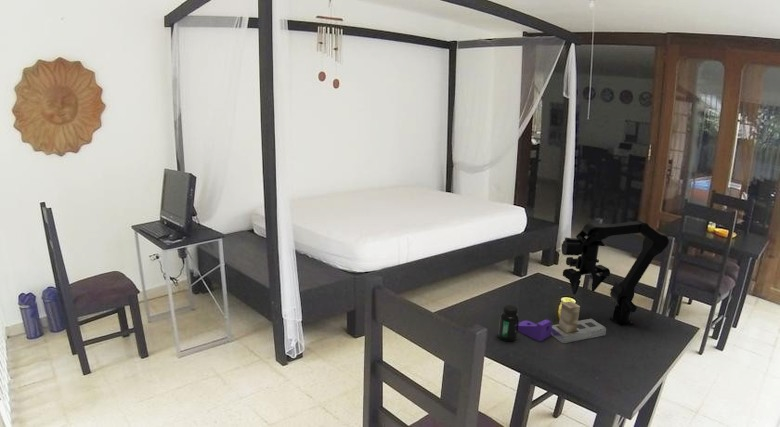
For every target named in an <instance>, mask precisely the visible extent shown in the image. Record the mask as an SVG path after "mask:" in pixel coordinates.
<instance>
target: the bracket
mask: <svg viewBox="0 0 780 427" xmlns="http://www.w3.org/2000/svg"><path fill="white" fill-rule="evenodd" d="M552 325H553V322H552V321H551V320H549V319H544V320H543V319H542V321H539V322H537V323H534V322H532V321H530V320H523V321H519V325H518V332H519V333H521V334H524V335H525V336H527V337H530V338H532V339H533V340H535V341H537V342H541V341H542V342H543V341H544V340H546V339H547V338H549V337H551V336H552V335H551V328H552Z"/></svg>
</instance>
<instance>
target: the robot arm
mask: <svg viewBox="0 0 780 427" xmlns="http://www.w3.org/2000/svg"><path fill="white" fill-rule="evenodd" d="M631 234H633V235H634V234H641V235H642V236H643V237H644V239H643V241H642V249H641V251H640V253H639V254H638V256H637V258H636V259H635V262H634V263H633V264H632V266H631V267H630V269H629V270H628V272H627V274H626V275H625V276H624V278H623V280H622V281H620V282H617V281H615V282H614V284H613V285H612V288H610V292H609V295H610V298H611V300H613V303H614V304H615V306H614V310H613V315H612V316H609V320H611V321H613V322H615V323H616V324H618V325H620V326H627V325H633V324H634V323H635V322H634V321H632V315H633V313H635V312H636V311H637V308H638V307H637V306H636V304H634V303H633V299H634V297H635V289H636V286H637V285H638V284H639V282H640V280H641V279H642V277H643V276H644V274H645V272H646V271H647V269H648V268H649V266H650V265H651V263H652V261H653V260H654V258H655V257H657V256H658V255H660V254H661V253H662V252H664V251H665V249H666V248H667V247H668V246H669V244H670V241H669V238H668V237H667V236H666V235H665V234H663V233H662V232H660V231H658V230H655V229H653V228H652V227H651V226H650V225H649V224H648V223H647V222H645V221H643V220H642V219H641V220H640V219H639V220H635V221H626V222H625V221H624V222H617V223H609V224H606V223H600V222H588V223H587V222H586V224H585V225H584V226H583V228H582V230H580V232H579V233H577V235H576V236H575V238H574V237H564V240H563V241H562V243H561V246H560V247H561V254H562V255H563V256H567V257H566V259H565V264H566V265H567V266H569V268H565V269H563V271H562V277H564V278H565V279H567V280H568V281H569V282H570V284H569V285H570V287H571V291H572V294H573V295H576V294H577V292H578V289H579V288H580V284H581V278H582V276H586V275H587V276H589V275H591V277H592V278H591V279H592V280H591V289H590V290H591V292H595V291H596V290H597V289H598V287H599V286H600V285H601V284H602V283H603V281H605V279H607V278H608V277H610V276H611V270H610V269H609V267H606V266H604V265H603V264H598V263H599V262H600V260H599V259H598V254H599V247H605V246H606V244H605V243H604V242H603V241H604V240H606V239H607V238H609V237H612V236H613V237H615V236H622V235H631ZM602 240H603V241H602ZM568 256H569V257H568ZM573 256H577V257H576V258H574V257H573ZM571 267H573V268H571ZM574 268H575V269H574Z"/></svg>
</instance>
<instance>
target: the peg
mask: <svg viewBox="0 0 780 427" xmlns="http://www.w3.org/2000/svg"><path fill="white" fill-rule="evenodd" d="M580 310H581V306H580V305H578V304H577V303H575V302H573V301H572V300H571V301H566V302H561V307H560V315H559V322H558V324H559V327H558V328H559V329H560V330H561V331H563V332H564V333H566V334H569V333H575V332H576V330H577V324H578V321H579V317H580Z"/></svg>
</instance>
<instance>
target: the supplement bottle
mask: <svg viewBox="0 0 780 427" xmlns="http://www.w3.org/2000/svg"><path fill="white" fill-rule="evenodd" d="M519 323H520V316H519V314H518V307H517V306H515V305H511V304H508V305H507V304H506V305H504V306H503V312H502V313H501V314H500V317H499V325H498V338H499V339H500V340H502V341H504V342H514V341H516V340H518V332H519V331H518V325H519Z"/></svg>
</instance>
